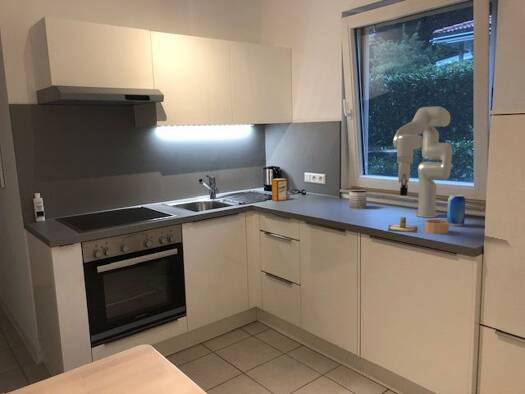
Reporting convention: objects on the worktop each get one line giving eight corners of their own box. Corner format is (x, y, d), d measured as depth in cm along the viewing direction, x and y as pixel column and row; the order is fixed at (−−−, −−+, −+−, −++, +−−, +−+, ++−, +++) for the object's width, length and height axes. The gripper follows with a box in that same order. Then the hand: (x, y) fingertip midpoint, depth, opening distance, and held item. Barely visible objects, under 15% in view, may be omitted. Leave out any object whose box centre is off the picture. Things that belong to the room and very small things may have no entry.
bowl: (424, 228, 221) (425, 218, 221) (447, 230, 218) (448, 220, 217) (425, 233, 211) (425, 223, 211) (449, 235, 208) (449, 224, 207)
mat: (389, 225, 230) (389, 225, 230) (417, 227, 225) (417, 226, 225) (387, 231, 217) (387, 231, 217) (417, 233, 212) (417, 232, 212)
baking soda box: (282, 199, 325) (281, 177, 322) (287, 200, 320) (287, 178, 317) (272, 200, 319) (271, 179, 317) (277, 201, 314) (277, 179, 312)
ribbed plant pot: (347, 208, 280) (348, 190, 279) (350, 205, 291) (350, 188, 289) (365, 209, 277) (366, 191, 275) (367, 206, 287) (367, 188, 286)
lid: (390, 225, 229) (391, 214, 228) (415, 226, 225) (416, 215, 224) (389, 230, 217) (389, 219, 216) (415, 232, 213) (416, 220, 212)
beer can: (459, 223, 233) (460, 193, 231) (467, 226, 225) (468, 196, 222) (444, 223, 233) (445, 194, 231) (451, 226, 225) (452, 196, 222)
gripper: (397, 158, 225) (396, 191, 227) (396, 161, 209) (395, 196, 211) (413, 159, 222) (411, 192, 225) (412, 161, 206) (411, 196, 209)
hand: (403, 194), depth 218 cm, fingers open, 9 cm apart
